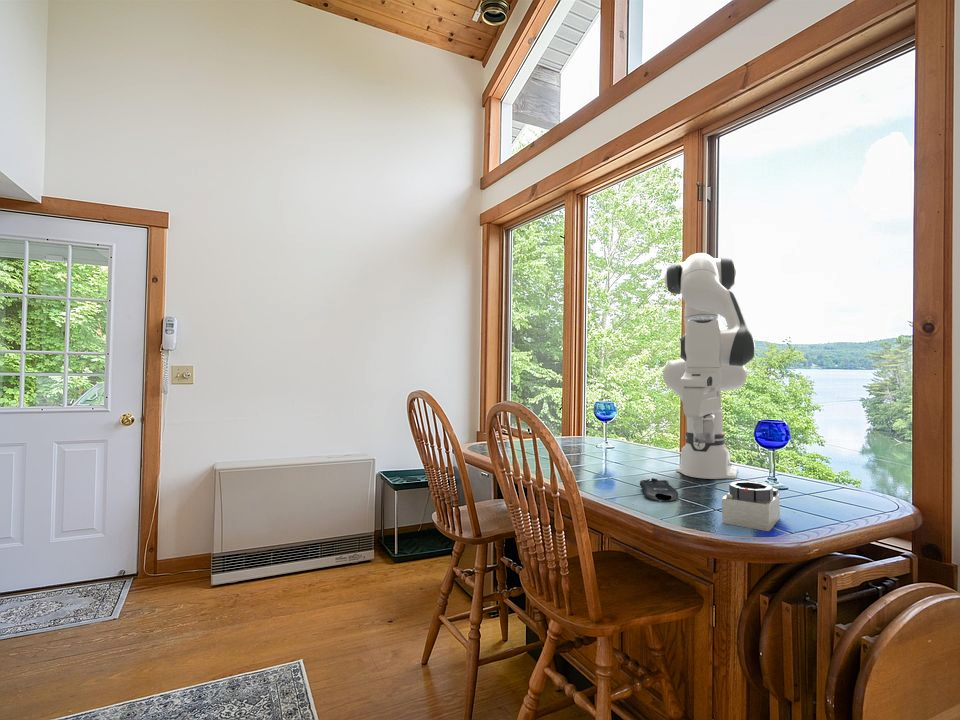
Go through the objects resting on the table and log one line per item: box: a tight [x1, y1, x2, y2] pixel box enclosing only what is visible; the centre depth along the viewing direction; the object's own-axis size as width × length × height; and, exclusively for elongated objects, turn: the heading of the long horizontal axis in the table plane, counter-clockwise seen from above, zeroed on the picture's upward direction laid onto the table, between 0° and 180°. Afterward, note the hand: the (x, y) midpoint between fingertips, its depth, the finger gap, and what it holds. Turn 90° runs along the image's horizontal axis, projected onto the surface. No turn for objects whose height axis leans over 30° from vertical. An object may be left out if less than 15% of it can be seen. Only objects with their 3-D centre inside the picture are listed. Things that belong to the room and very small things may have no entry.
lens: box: [693, 414, 714, 443], centre depth 140 cm, size 5×5×7 cm
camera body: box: [721, 480, 781, 532], centre depth 129 cm, size 13×10×9 cm
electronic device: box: [639, 478, 679, 503], centre depth 154 cm, size 9×6×15 cm
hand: (703, 431), depth 140 cm, fingers closed on lens, 5 cm apart
